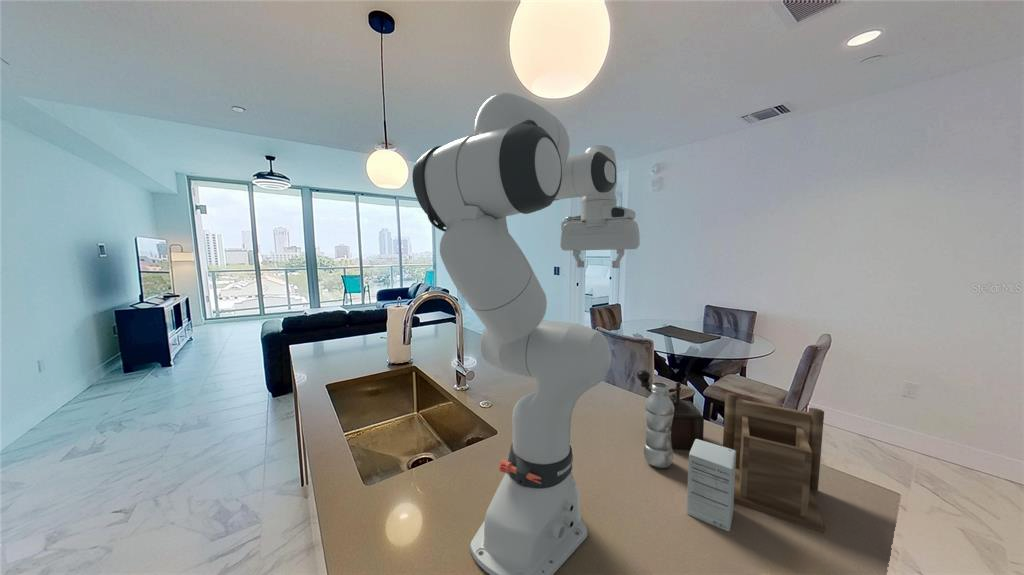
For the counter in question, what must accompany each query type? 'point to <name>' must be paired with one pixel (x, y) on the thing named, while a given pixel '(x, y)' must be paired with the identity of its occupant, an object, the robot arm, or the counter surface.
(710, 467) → the supplement box
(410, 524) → the counter surface
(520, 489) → the robot arm
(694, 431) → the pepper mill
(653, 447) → the plastic bottle
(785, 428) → the caddy
